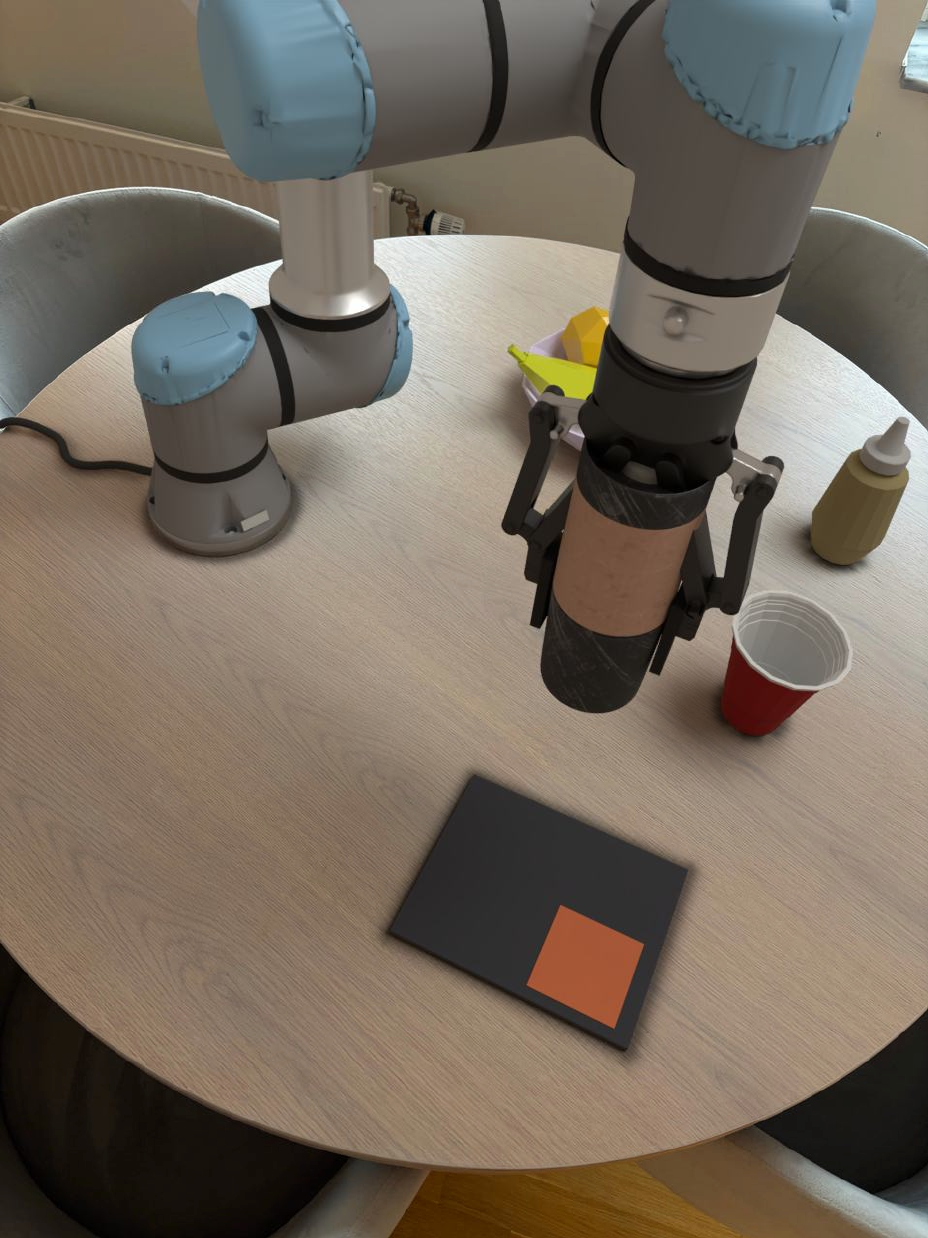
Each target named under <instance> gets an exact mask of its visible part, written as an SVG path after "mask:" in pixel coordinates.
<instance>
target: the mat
mask: <svg viewBox="0 0 928 1238" xmlns="http://www.w3.org/2000/svg"><path fill="white" fill-rule="evenodd" d="M461 795H462V796H461V797H460V799H459V800H458V803H457V805H456V806H455V809H454V810H453V812H452V814H451V815H450V817H449V820H448V821H447V824H446V825H445V827H444V829H443V831H442V833H441V834H440V836H439V838H438V839H437V842H436V844H435V845H434V847H433V849H432V851H431V852H430V854H429V856H428V858H427V860H426V862H425V864H424V865H423V867H422V870H421V871H420V873H419V875H418V877H417V879H416V881H415V882H414V885H413V886H412V887H411V890H410V892H409V893H408V895H407V898H406V899H405V901H404V903H403V904H402V906H401V908H400V910H399V912H398V914H397V916H396V917H395V919H394V921H393V923H392V925H391V927H390V929H389V934H390V935H393V936H395V937H396V938H398V939H400V940H402V941H404V942H407V943H408V944H411V945H412V946H414V947H416V948H419V949H421V950H423V951H425V952H426V953H428V954H431V955H432V956H435V958H439V959H440V960H442V961H445V962H446V963H449V964H450V965H452V966H455V967H456V968H459V969H460V970H463V971H465V972H466V973H469V974H470V975H473V976H475V977H476V978H479V979H480V980H482V981H485V982H486V983H489V984H491V985H492V986H495V987H496V988H498V989H500V990H503V991H505V992H507V993H508V994H510V995H513V996H514V997H517V998H519V999H521V1000H522V1001H525V1002H526V1003H528V1004H531V1005H532V1006H534V1007H537V1008H538V1009H541V1010H542V1011H545V1012H547V1013H549V1014H551V1015H552V1016H555V1017H556V1018H559V1019H560V1020H563V1021H564V1022H566V1023H568V1024H571V1025H572V1026H574V1027H577V1028H579V1029H581V1030H583V1031H585V1032H586V1033H588V1034H591V1035H593V1036H595V1037H597V1038H598V1039H600V1040H602V1041H605V1042H606V1043H608V1044H611V1045H613V1046H614V1047H617V1048H619V1049H621V1050H623V1051H624V1052H627V1051H628V1050H629V1047H630V1043H631V1041H632V1038H633V1035H634V1032H635V1029H636V1026H637V1022H638V1021H639V1017H640V1015H641V1011H642V1008H643V1005H644V1002H645V1000H646V996H647V993H648V990H649V988H650V984H651V982H652V979H653V976H654V973H655V970H656V967H657V964H658V961H659V958H660V955H661V952H662V950H663V946H664V944H665V940H666V938H667V935H668V932H669V928H670V926H671V922H672V919H673V916H674V913H675V911H676V907H677V905H678V902H679V899H680V896H681V893H682V890H683V887H684V884H685V881H686V878H687V876H688V872H689V869H688V868H687V867H686V868H685V867H684V866H681V865H679V864H677V863H674V862H673V861H670V860H668V859H665V858H663V857H662V856H658V855H657V854H655V853H652V852H650V851H647V850H645V849H643V848H641V847H639V846H637V845H634V844H632V843H630V842H627V841H625V840H623V839H621V838H618V837H616V836H614V835H611V834H610V833H607V832H605V831H603V830H601V829H599V828H597V827H595V826H592V825H589V824H587V823H585V822H584V821H580V820H578V819H576V818H574V817H572V816H570V815H567V814H565V813H563V812H560V811H558V810H557V809H553V808H551V807H549V806H547V805H545V804H543V803H540V802H538V801H536V800H534V799H531V798H529V797H527V796H524V795H522V794H520V793H518V792H516V791H514V790H511V789H509V788H508V787H507V788H506V787H505V786H502V785H500V784H498V783H496V782H493V781H491V780H489V779H486V778H485V777H481V776H480V775H478V774H475V773H474V774H472V777H471V779H470V781H469V782H468V784H467V787H466V788H465V790H464V792H463V793H462V794H461Z"/></svg>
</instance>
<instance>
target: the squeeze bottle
mask: <svg viewBox="0 0 928 1238" xmlns="http://www.w3.org/2000/svg"><path fill="white" fill-rule="evenodd" d="M910 424H911V423H910V419H909V418H908V417H905V416H898V417H897V418H896V419H895V421H893V423H892V424H890V426H889V427H888V428H887V429H886V431H885V432H884V433H883V434H874V435H871V436H869V437H867V439H866V441H864V443H863V445H862V447H861V448H858V449H856V450H854V451H851V452H850V453H849V455H848V456H847V457H846V459H845V460H844V462H843V463H842V465H841V466H840V468H839V469H838V471H837V473H836V474H835V475H834V477H833V479H832V480H831V482H830V483H829V485H828V486H827V488H826V489H825V491H824V493H823V494H822V496H821V497H820V498H819V500H818V502H817V503H816V505H815V506H814V508H813V509H812V511H811V524H810V525H811V526H810V545H811V547H812V549H813V551H814V552H815V553H816V554H817V555H818V556H819V557H820V558H822V559H824V560H826V561H828V562H829V563H831V564H836V565H840V566H845V565H846V566H847V565H848V566H849V565H853V564H855V563H857V562H859V561H861V560H862V559H864V558H865V557H866V556H867V555H869V554H870V553H871V552H872V551H874V550H875V549H876V548H878V547H880V545H881V544H882V543H883V541H884V539H885V538H886V535H887V533H888V532H889V531H888V530H889V528H890V526H891V524H892V521H893V519H894V516H895V514H896V511H897V509H898V507H899V504H900V502H901V499H902V497H903V495H904V493H905V491H906V488H907V485H908V483H909V481H910V473H909V470H908V468H907V465H908V463H909V462H910V460H911V458H912V453H911V450H910V448H909V447H908V445H906V443H905V442H906V438H907V435H908V430H909V426H910Z"/></svg>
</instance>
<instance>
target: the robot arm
mask: <svg viewBox="0 0 928 1238" xmlns="http://www.w3.org/2000/svg"><path fill="white" fill-rule="evenodd" d="M180 2H181V3H182V4H183V5H184V7H185V8H186V9H187V10H188V12H189V13H190V14H191V15H192V17H193V18H194V20H196V42H197V45H196V46H197V53H198V60H199V68H200V72H201V79H202V83H203V87H204V93H205V96H206V100H207V104H208V108H209V112H210V114H211V117H212V120H213V124H214V125H215V127H217V129H218V131H219V135H220V137H221V142H222V145H223V149H224V150H225V152H226V153H227V154H226V155H227V156H228V157H229V159H230V160H231V162H232V163H233V164H234V166H235V167H236V169H238V170H239V171H240V172H241V173H242V174H244V175H245V176H246V177H248V178H250V179H252V180H255V181H258V182H261V183H273V182H274V183H275V194H276V205H277V207H276V208H277V217H278V226H279V227H278V229H279V239H280V250H281V261H282V264H280V265H279V266H278V267H277V268H276V269H275V270H274V271H273V272H272V273H271V275H270V277H269V279H268V294H269V304H266V305H261V306H256V307H250V306H249V305H248V304H247V303H246V302H245V301H244V300H242V299H241V298H240V297H238V296H235V295H233V294H230V293H226V292H221V293H219V294H217V295H216V294H215V292H213V291H207V290H206V291H196V292H195V291H194V292H190V293H185V294H182V295H179V296H176V297H173V298H170V299H168V300H166V301H164V302H162V303H161V304H159V305H158V306H156V307H154V308H153V309H152V310H151V311H149V312H148V313H147V314H146V315H145V316H144V318H143V319H142V321H141V323H139V324H138V325H137V327H136V328H135V330H134V333H133V334H132V338H131V344H130V350H131V352H130V354H131V361H132V368H133V384H134V386H135V389H136V391H137V393H138V395H139V396H140V401H141V405H142V409H143V413H144V418H145V422H146V426H147V427H146V428H147V432H148V436H149V441H150V445H151V449H152V453H153V462H152V463H153V464H152V467H151V466H146V465H142V464H137V463H134V462H129V461H126V460H125V461H124V460H113V459H112V460H93V461H91V460H90V461H89V460H80V459H78V458H76V457H73V456H72V455H71V454H70V451H69V448H68V444H67V442H66V440H65V438H64V437H63V436H62V435H61V434H60V433H59V432H57V431H55V430H54V429H52V428H50V427H48V426H46V425H44V424H42V423H39V422H38V421H34V420H32V419H28V418H23V417H18V416H9V417H4V418H2V419H0V430H3V429H6V428H8V427H12V426H13V427H14V426H15V427H22V428H25V429H29V430H31V431H34V432H37V433H39V434H42V435H43V436H45V437H47V438H49V439H50V440H52V441H54V442H55V444H56V445H57V448H58V453H59V455H60V458H61V459H62V461H63V462H64V463H65V464H67V465H68V466H70V467H71V468H74V469H78V470H84V471H102V470H120V471H126V472H130V473H135V474H138V475H143V476H146V477H150V480H149V485H148V489H147V496H146V504H147V511H148V514H149V518H150V522H151V524H152V526H153V528H154V530H155V532H156V533H157V534H158V535H159V537H160V538H162V539H163V540H164V541H165V542H166V543H168V544H170V545H171V546H173V547H174V548H176V549H179V550H180V551H184V552H187V553H189V554H195V555H200V556H209V557H215V556H217V557H218V556H221V557H222V556H230V555H236V554H240V553H245V552H247V551H251V550H253V549H256V548H258V547H259V546H261V545H264V544H266V543H267V542H268V541H270V540H271V539H272V538H274V537H275V536H276V535H277V534H278V533H279V532H280V531H281V530H282V529H283V528H284V526H285V525H286V523H287V522H288V520H289V518H290V516H291V512H292V508H293V497H292V489H291V483H290V481H289V478H288V476H287V474H286V472H285V470H284V469H283V468H282V466H281V465H280V464H279V462H278V459H277V457H276V455H275V453H274V451H273V449H272V447H271V445H270V443H269V436H268V435H269V434H268V431H270V430H273V429H279V428H281V427H285V426H288V425H293V424H297V423H301V422H306V421H309V420H314V419H316V418H317V419H318V418H321V417H326V416H329V415H334V414H337V413H341V412H345V411H349V410H353V409H364V408H365V409H366V408H367V407H370V406H372V405H373V404H375V403H377V402H380V401H383V400H387V399H390V398H392V397H393V396H395V395H396V394H398V393H399V392H400V391H401V390H402V389H403V387H404V386H405V384H406V382H407V381H408V378H409V375H410V372H411V367H412V363H413V355H414V353H413V352H414V341H413V339H414V338H413V330H411V329H410V320H411V318H410V313H409V310H408V306H407V305H406V302H405V300H404V298H403V295H401V293H400V291H399V290H398V288H396V287H395V286H394V285H393V284H391V282H390V278H389V276H388V275H387V273H386V272H385V270H383V269H382V268H381V267H380V266H378V265H377V264H376V263H375V238H374V237H375V234H374V233H375V224H374V222H375V221H374V219H375V217H374V216H375V215H374V170H376V169H381V168H388V167H394V166H399V165H404V164H411V163H416V162H420V161H427V160H432V159H433V160H434V159H439V158H444V157H449V156H455V155H460V154H467V153H469V154H470V153H473V152H474V153H476V152H477V153H478V152H483V151H488V150H494V149H500V148H507V147H512V146H519V145H527V144H531V143H532V144H533V143H539V142H543V141H545V142H546V141H551V140H556V139H563V138H567V137H578V138H583V139H586V140H587V141H589V142H590V143H591V144H592V145H594V146H595V147H597V148H598V149H599V150H601V152H603V153H604V154H606V155H607V156H609V157H610V158H611V159H612V160H614V161H615V162H616V163H618V164H619V165H620V166H622V167H623V168H625V169H628V170H630V171H631V172H632V173H633V175H634V182H633V189H632V196H631V203H630V209H629V214H628V216H627V219H626V223H625V227H624V233H623V240H622V244H621V248H620V254H619V259H618V263H617V268H616V273H615V278H614V282H613V283H614V284H613V287H612V293H611V298H610V303H609V308H608V311H609V324H608V326H607V327H606V329H605V332H604V336H603V341H602V346H601V351H600V356H599V361H598V366H597V371H596V376H595V381H594V385H593V391H592V393H590V394H589V395H588V397H587V398H586V400H584V399H578V398H571V397H565V394H564V391H563V390H562V388H560V387H559V386H557V385H549V386H547V388H546V389H545V390H544V392H543V393H542V395H541V396H540V397H539V399H538V400H537V402H536V403H535V405H534V406H533V407H531V409H529V412H528V428H529V429H528V431H529V445H528V447H527V450H526V453H525V456H524V459H523V461H522V465H521V467H520V470H519V472H518V476H517V479H516V481H515V483H514V487H513V489H512V492H511V495H510V498H509V501H508V504H507V506H506V509H505V512H504V515H503V518H502V520H501V524H500V525H501V526H500V527H501V530H502V531H503V532H504V533H505V534H507V535H509V536H512V537H513V536H517V535H518V536H520V537H521V538H522V539H523V540H524V541H525V542H526V545H527V552H526V557H525V564H524V569H523V575H524V579H525V581H528V582H530V583H533V584H535V585H536V588H535V594H534V599H533V605H532V609H531V615H530V616H531V617H530V619H529V620H530V621H529V626H530V627H533V628H536V629H538V630H541V628H542V626H543V624H544V623H545V622H546V620H547V615H548V608H549V602H550V595H551V589H552V583H553V577H554V572H555V568H556V563H557V558H558V554H559V549H560V545H561V540H562V535H563V531H564V529H565V524H566V520H567V515H568V511H569V506H570V502H571V497H572V492H573V485H574V480H575V478H574V479H573V480H572V481H571V482H570V483H569V485H568V486H567V487H566V488H564V490H563V491H562V493H561V494H560V495H559V496H558V497H557V498H556V499H555V500H554V502H553V503H552V504H551V505H550V506H549V507H548V508H546V509H545V511H544V513H543V514H542V513H541V512H539V511H538V510H536V509H535V506H536V503H537V501H538V499H539V498H538V497H539V496H540V493H541V490H542V487H544V483H545V479H546V478H547V474H548V472H549V470H550V467H551V465H552V462H553V460H554V457H555V455H556V452H557V449H558V447H559V444H560V442H561V440H562V439H561V437H564V436H566V435H567V434H568V432H569V431H570V429H571V428H572V426H573V425H574V424H579V426H580V428H581V430H582V432H583V434H584V436H585V438H586V439H587V442H588V444H589V446H590V448H591V450H592V452H593V454H594V455H595V456H596V457H597V458H598V461H597V462H596V464H595V465H596V466H597V467H600V468H603V469H606V470H609V471H612V472H615V473H618V472H620V471H621V470H622V469H623V468H624V467H625V466H626V465H627V463H628V462H629V461H632V462H635V463H639V464H642V465H645V466H647V467H650V468H652V469H655V473H656V478H657V483H658V485H659V486H660V488H661V489H664V490H667V491H670V492H673V493H676V494H678V493H684V492H686V489H696V488H698V487H700V486H702V485H704V484H705V483H706V482H708V481H709V480H713V479H715V478H716V479H717V478H718V477H720V476H722V475H724V474H727V475H729V477H730V479H731V486H730V489H731V493H732V494H733V500H734V501H736V502H737V503H738V505H737V507H736V510H735V512H734V515H733V519H732V524H731V531H730V535H729V536H730V537H729V541H728V549H727V553H726V559H725V560H726V561H725V567H724V572H723V576H718V575H717V569H716V563H715V557H714V551H713V544H712V539H711V532H710V527H709V521H708V515H707V514H708V513H707V510H706V511H705V514H704V517H703V519H702V522H701V525H700V527H699V528H698V529H697V530H693V532H692V535H691V538H690V541H689V544H688V547H687V550H686V553H685V556H684V559H683V562H682V565H681V568H680V573H681V578H682V581H681V584H680V587H679V590H678V593H677V595H676V597H675V600H674V602H673V604H672V607H671V610H670V613H669V615H668V618H667V621H666V624H665V627H664V630H663V632H662V635H661V637H660V640H659V642H658V645H657V647H656V650H655V652H654V655H653V657H652V660H651V663H650V665H649V668H648V669H649V670H648V673H651V674H653V675H655V676H658V677H659V676H660V677H661V674H662V671H663V669H664V667H665V664H666V662H667V660H668V657H669V654H670V652H671V650H672V647H673V645H674V642H675V639H676V637H677V638H679V639H681V640H685V641H687V642H691V641H693V639H695V638H696V636H697V633H698V630H699V628H700V625H701V623H702V621H703V618H704V615H705V613H706V611H708V610H709V609H719V610H720V612H721V613H723V614H725V615H727V616H734V615H736V614H738V613H739V611H740V608H741V605H742V602H743V601H744V600H745V598H746V595H747V591H748V589H749V586H750V582H751V578H752V572H753V566H754V562H755V558H756V552H757V547H758V542H759V537H760V531H761V527H762V521H763V517H764V510H765V509H766V508H767V507H768V505H769V504H770V502H771V501H772V500H773V498H774V497H775V494H776V491H777V488H778V486H779V483H780V480H781V479H782V478H781V477H782V474H783V472H784V469H785V463H784V461H783V459H781V458H780V457H778V456H776V455H768V456H765V457H764V458H763V459H762V460H760V459H758V458H756V457H755V456H752V455H750V454H748V453H746V452H744V451H742V450H741V449H739V442H738V439H737V435H736V427H737V423H738V422H739V418H740V415H741V412H742V409H743V407H744V405H745V400H746V398H747V395H748V392H749V389H750V387H751V384H752V381H753V379H754V376H755V372H756V369H757V367H758V356H759V355H760V354H761V352H762V351H763V349H764V347H765V345H766V342H767V340H768V337H769V334H770V331H771V327H772V325H773V322H774V320H775V317H776V314H777V311H778V308H779V307H780V302H781V300H782V297H783V295H784V291H785V288H786V286H787V283H788V281H789V277H790V275H791V268H792V265H793V262H794V259H795V258H796V257H795V256H796V251H797V247H798V244H799V241H800V239H801V236H802V233H803V232H804V228H805V226H806V223H807V221H808V218H809V214H810V212H811V209H812V207H813V205H814V203H815V202H814V201H815V199H816V197H817V195H818V191H819V189H820V186H821V184H822V181H823V180H824V177H825V174H826V172H827V169H828V166H829V164H830V161H831V159H832V156H833V154H834V151H835V148H836V146H837V144H838V142H839V139H840V136H841V133H842V131H843V129H844V127H845V126H846V125H847V124H848V122H849V119H850V116H851V112H852V111H853V108H854V104H855V103H854V102H855V97H854V95H855V91H856V87H857V85H858V81H859V77H860V74H861V71H862V67H863V62H864V61H865V60H864V59H865V56H866V52H867V49H868V45H869V42H870V38H871V35H872V31H873V28H874V24H875V21H876V14H877V7H878V6H877V0H180Z"/></svg>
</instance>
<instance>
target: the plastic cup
mask: <svg viewBox="0 0 928 1238" xmlns="http://www.w3.org/2000/svg"><path fill="white" fill-rule="evenodd" d="M731 632H732V639H731V645H730V653H729V658H728V663H727V666H726V672H725V676H724V681H723V690H722V695H721V699H720V707H721V711H722V714H723V717H724V718H725V720H726V722H727V723H728V724H729V725H730V726H731V727H733V728H734V729H736V730H737V731H739V732H741V733H743V734H746V735H749V736H765V735H768V734H770V733H773V732H774V731H776V730H777V729H778V728H779V727H780V726H781V725H782V724H783V723H784V722H785V721H786V720H788V719H789V718H791V717H792V716H793V714H795V713H796V712H797V711H798V710H799V709H801V707H802V706H803V705H804V704H805V703H806V702H808V701H809V699H811V698H812V697H813V696H814V695H815V694H818V693H819V692H820V691H822V690H825V689H827V688H830V687H834V686H836V685H838V684H839V683H840V682H841V681H842V680H843V679H844V678H845V677H846V676H847V674H848V673H849V672H850V671H851V669H852V663H853V655H854V649H853V646H852V644H851V641H850V638H849V634H848V632H847V630H846V629H845V628H844V627H843V625H842V624H841V623H840V622H839V620H838V618H836V616H835V615H834V614H833V613H832V612H830V611H829V610H828V609H826V608H825V607H824V606H822V605H820V604H819V603H818V602H817V601H815V600H814V599H812V598H810V597H806V596H803V595H801V594H798V593H795V592H794V591H790V590H777V589H765V590H762V591H759V592H755V593H752V594H749V595H748V596H746V597H745V598H744V600H743V602H742V605H741V608H740V611H739V613H738V614H736V615H733V620H732V624H731Z"/></svg>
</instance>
